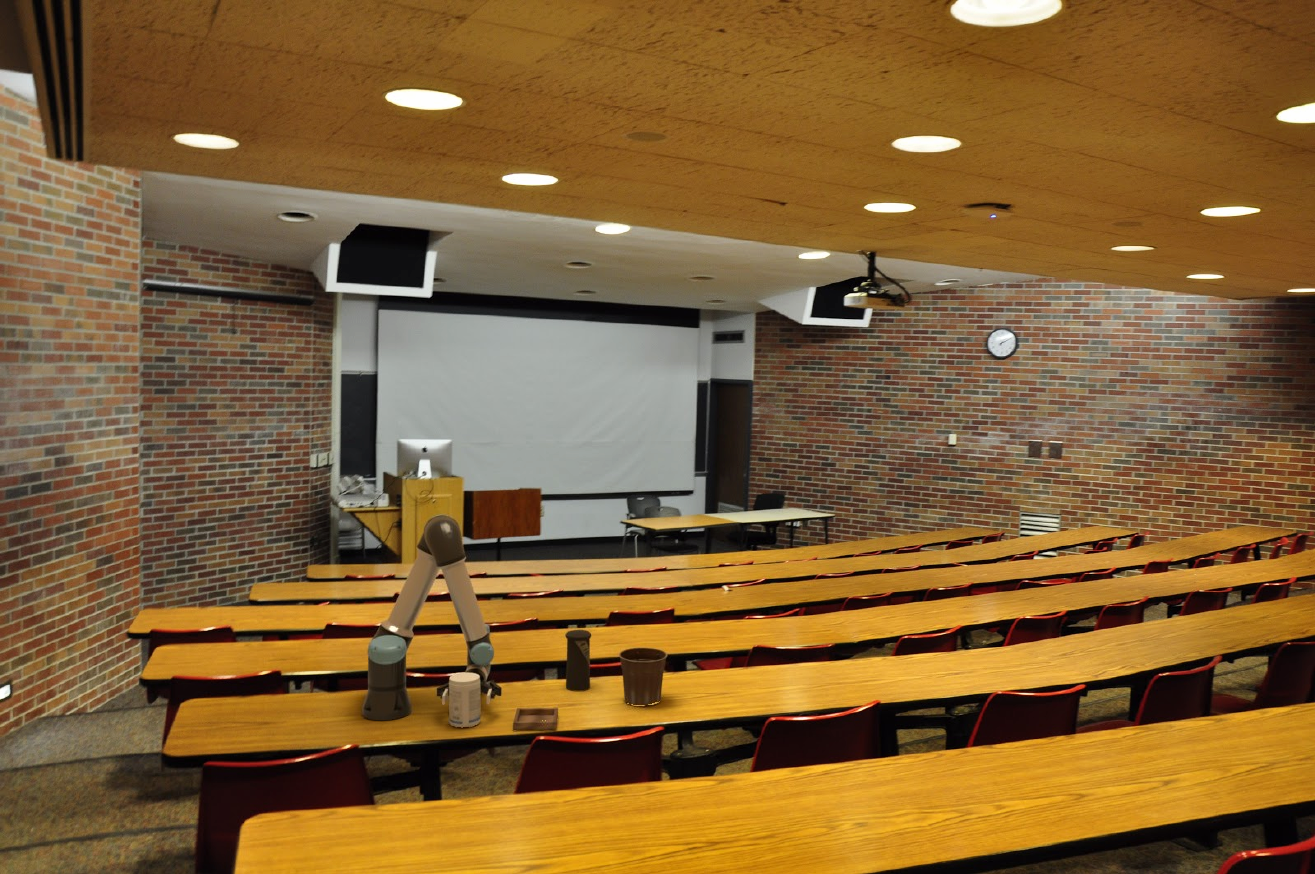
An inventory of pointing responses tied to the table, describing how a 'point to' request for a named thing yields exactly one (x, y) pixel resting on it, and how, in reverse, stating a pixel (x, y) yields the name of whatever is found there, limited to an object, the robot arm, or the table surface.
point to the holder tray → (535, 719)
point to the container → (578, 660)
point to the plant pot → (642, 674)
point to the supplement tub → (464, 700)
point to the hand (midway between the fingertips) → (465, 700)
